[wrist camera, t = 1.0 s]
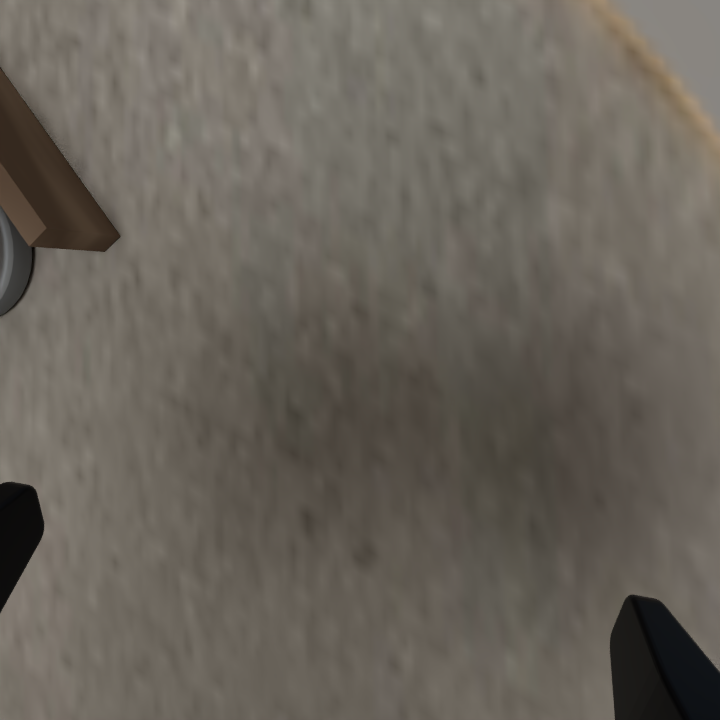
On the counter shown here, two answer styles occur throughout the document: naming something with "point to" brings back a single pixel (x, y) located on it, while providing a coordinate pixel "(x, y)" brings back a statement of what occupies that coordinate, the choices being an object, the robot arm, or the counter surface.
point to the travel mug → (12, 263)
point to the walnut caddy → (44, 185)
